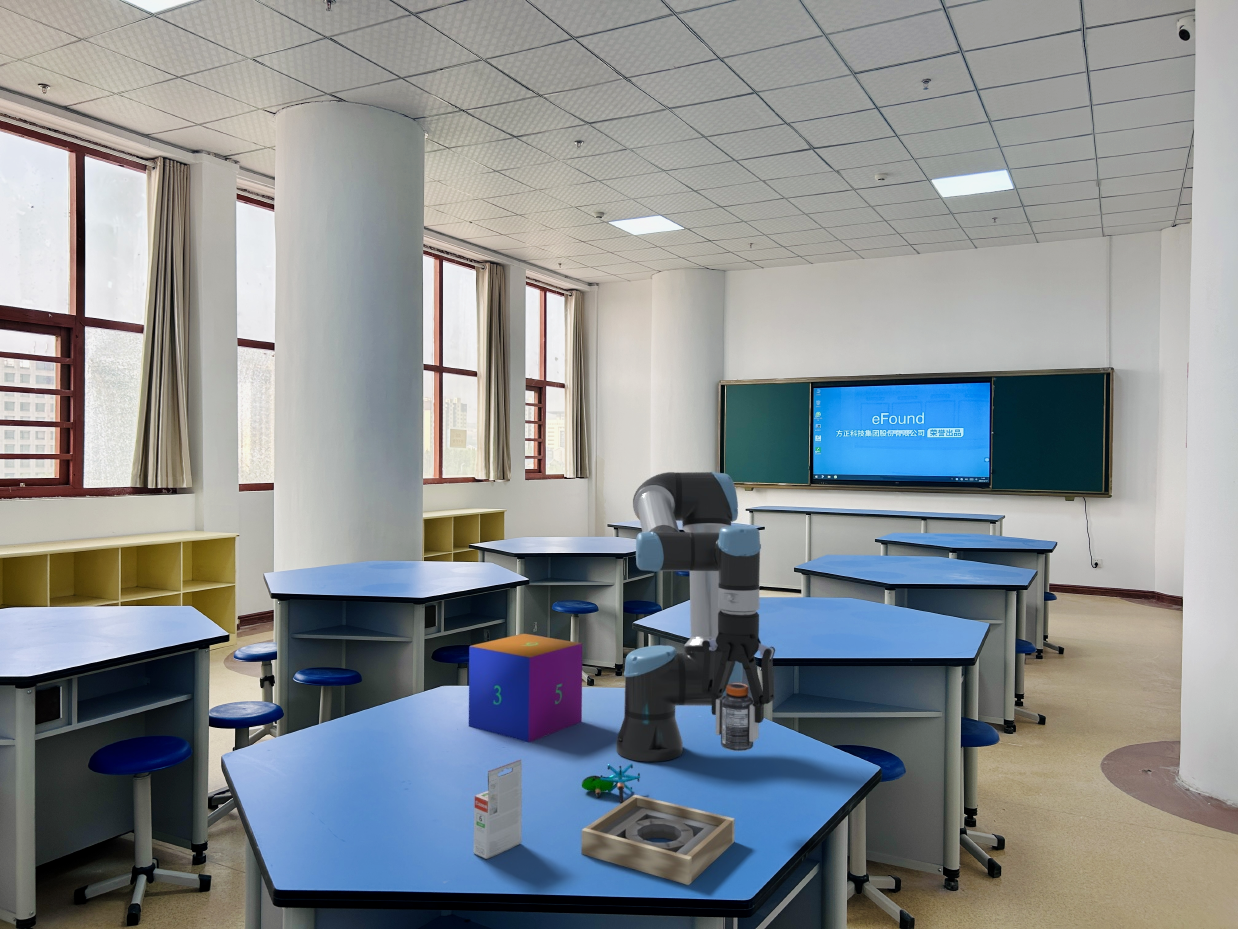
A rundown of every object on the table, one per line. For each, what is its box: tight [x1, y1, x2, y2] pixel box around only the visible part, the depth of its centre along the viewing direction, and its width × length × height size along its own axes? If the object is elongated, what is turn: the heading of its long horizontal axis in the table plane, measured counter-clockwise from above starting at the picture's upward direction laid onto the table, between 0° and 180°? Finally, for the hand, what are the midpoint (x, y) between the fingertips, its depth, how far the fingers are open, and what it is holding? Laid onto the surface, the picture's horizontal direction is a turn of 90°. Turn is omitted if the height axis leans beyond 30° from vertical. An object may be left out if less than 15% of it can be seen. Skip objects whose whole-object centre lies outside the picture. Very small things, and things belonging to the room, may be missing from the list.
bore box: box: [580, 794, 736, 886], centre depth 145 cm, size 20×18×4 cm
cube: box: [468, 633, 583, 743], centre depth 213 cm, size 20×20×20 cm
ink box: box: [473, 759, 523, 860], centre depth 144 cm, size 4×8×15 cm, turn 140°
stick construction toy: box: [581, 763, 641, 805], centre depth 167 cm, size 12×7×8 cm
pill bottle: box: [720, 683, 754, 752], centre depth 156 cm, size 6×6×11 cm
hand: (737, 735), depth 156 cm, fingers closed on pill bottle, 6 cm apart
